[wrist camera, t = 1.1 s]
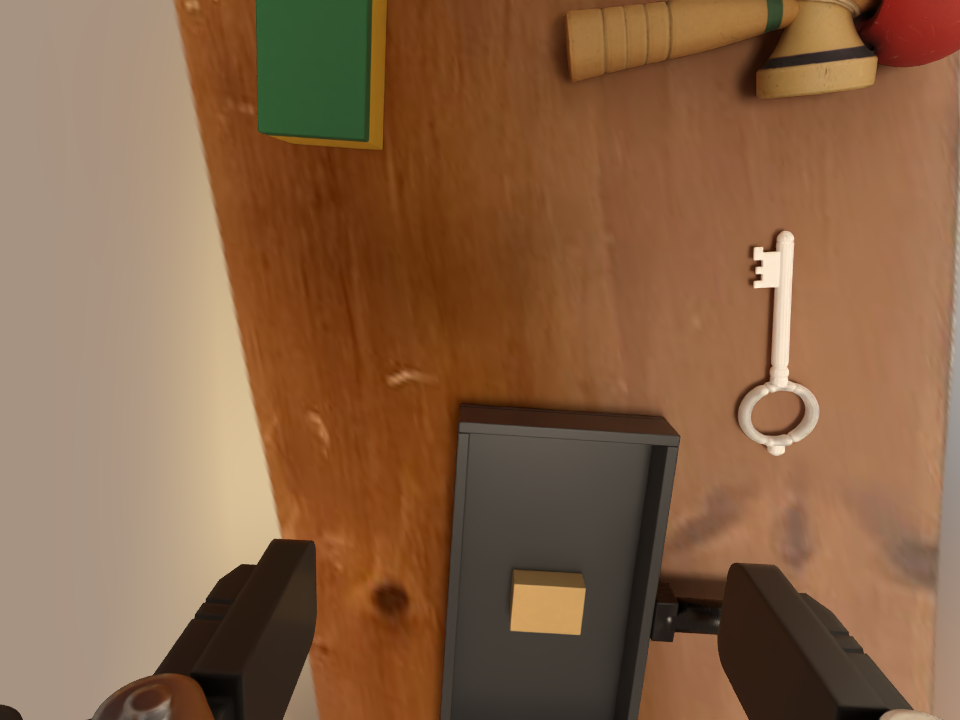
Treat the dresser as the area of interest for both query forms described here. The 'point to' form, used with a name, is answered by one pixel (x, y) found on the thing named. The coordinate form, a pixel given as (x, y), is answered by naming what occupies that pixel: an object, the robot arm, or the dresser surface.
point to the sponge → (322, 71)
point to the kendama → (761, 9)
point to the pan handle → (683, 615)
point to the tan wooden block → (546, 602)
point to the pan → (554, 559)
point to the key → (778, 348)
